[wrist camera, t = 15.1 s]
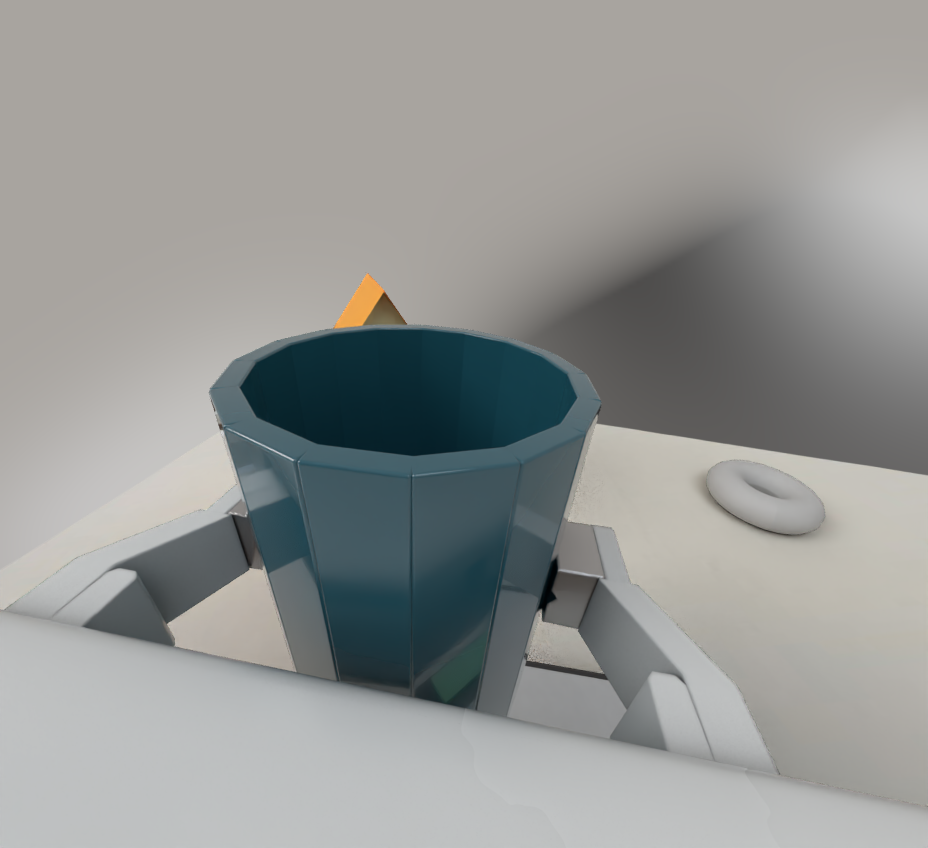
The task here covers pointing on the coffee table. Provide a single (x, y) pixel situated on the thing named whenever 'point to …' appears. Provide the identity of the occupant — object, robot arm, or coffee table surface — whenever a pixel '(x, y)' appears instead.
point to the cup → (408, 499)
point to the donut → (765, 497)
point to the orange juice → (369, 307)
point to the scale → (567, 699)
